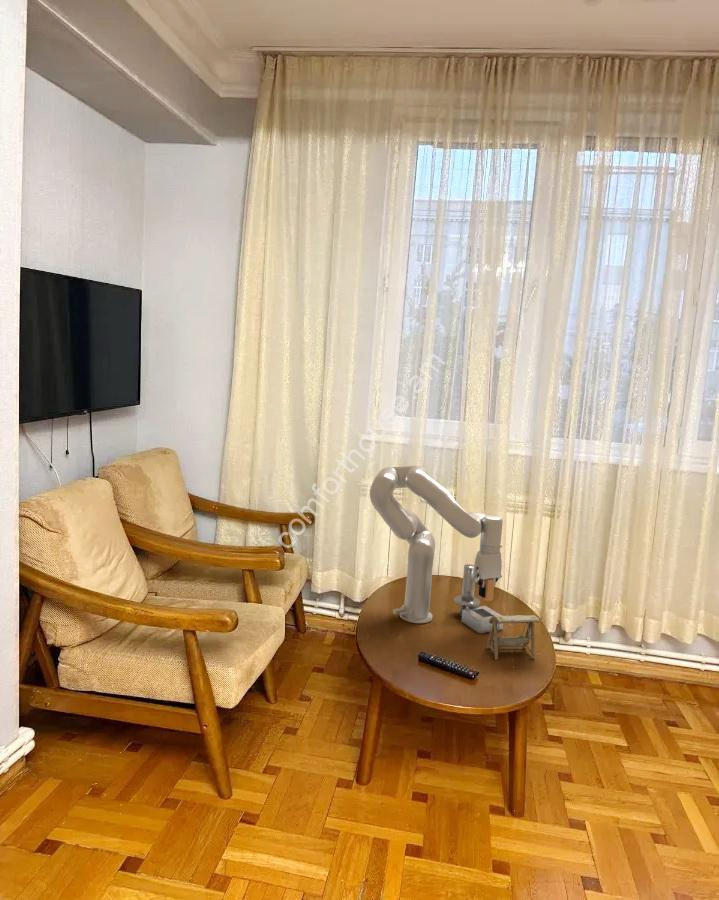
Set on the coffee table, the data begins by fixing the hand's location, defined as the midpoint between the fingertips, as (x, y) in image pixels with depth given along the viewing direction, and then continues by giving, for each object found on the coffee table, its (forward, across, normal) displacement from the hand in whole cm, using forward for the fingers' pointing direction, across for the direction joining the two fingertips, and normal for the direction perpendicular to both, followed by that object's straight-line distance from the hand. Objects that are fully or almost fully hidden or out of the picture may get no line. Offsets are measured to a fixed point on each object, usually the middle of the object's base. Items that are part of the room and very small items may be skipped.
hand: (485, 595), depth 257 cm
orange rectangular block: (+1, 0, 0) cm, 1 cm away
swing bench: (+12, +6, +23) cm, 27 cm away
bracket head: (+12, 0, -5) cm, 13 cm away
